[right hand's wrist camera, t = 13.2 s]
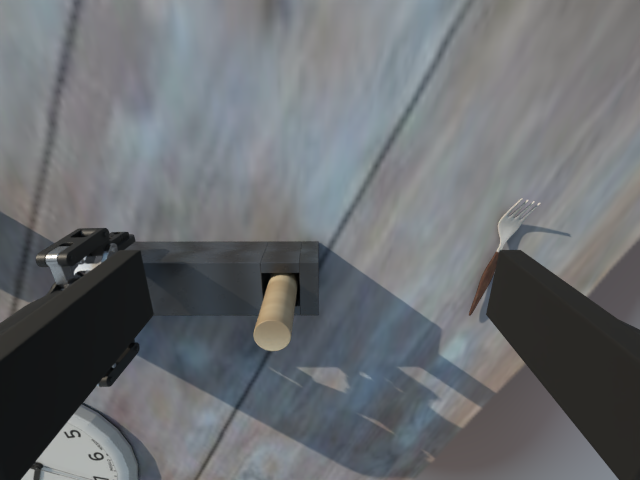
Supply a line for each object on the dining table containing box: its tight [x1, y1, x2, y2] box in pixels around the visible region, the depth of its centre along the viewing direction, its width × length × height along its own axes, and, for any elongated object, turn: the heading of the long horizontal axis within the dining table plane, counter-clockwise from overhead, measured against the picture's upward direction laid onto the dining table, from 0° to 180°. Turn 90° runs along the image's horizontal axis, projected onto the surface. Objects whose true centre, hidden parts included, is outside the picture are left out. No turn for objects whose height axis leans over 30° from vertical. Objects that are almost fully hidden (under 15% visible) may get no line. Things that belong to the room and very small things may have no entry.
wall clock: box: [21, 404, 138, 480], centre depth 53 cm, size 30×2×30 cm
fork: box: [469, 198, 541, 316], centre depth 40 cm, size 3×16×2 cm, turn 167°
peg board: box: [94, 242, 319, 315], centre depth 39 cm, size 24×6×6 cm, turn 90°
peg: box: [254, 273, 299, 351], centre depth 35 cm, size 3×3×14 cm
